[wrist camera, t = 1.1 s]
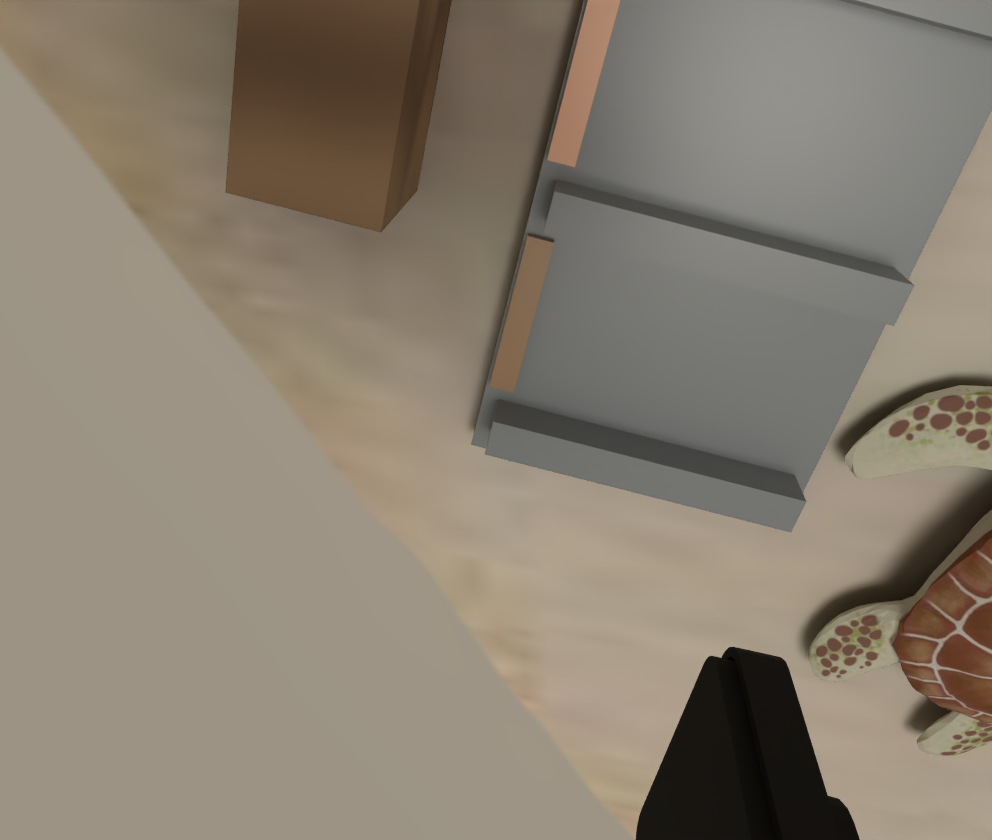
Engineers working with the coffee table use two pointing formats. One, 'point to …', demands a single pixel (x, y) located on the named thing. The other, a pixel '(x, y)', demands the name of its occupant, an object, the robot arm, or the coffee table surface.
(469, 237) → the coffee table surface
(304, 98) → the walnut bar
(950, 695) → the decorative turtle
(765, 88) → the slot rack
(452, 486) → the coffee table surface
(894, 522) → the coffee table surface
